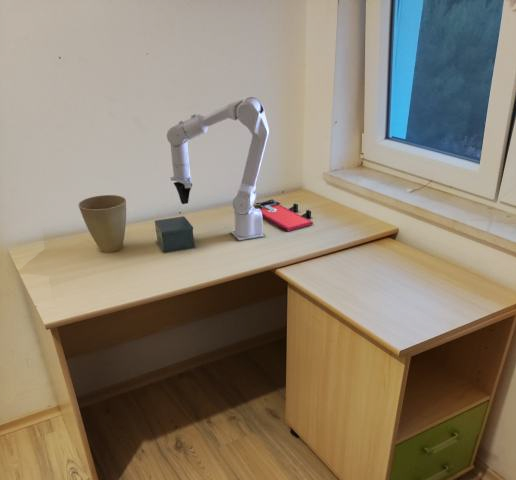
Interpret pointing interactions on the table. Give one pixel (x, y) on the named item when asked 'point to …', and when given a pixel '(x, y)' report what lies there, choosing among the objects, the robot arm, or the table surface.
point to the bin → (175, 240)
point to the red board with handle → (284, 215)
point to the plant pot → (105, 220)
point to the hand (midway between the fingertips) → (184, 203)
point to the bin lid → (173, 225)
